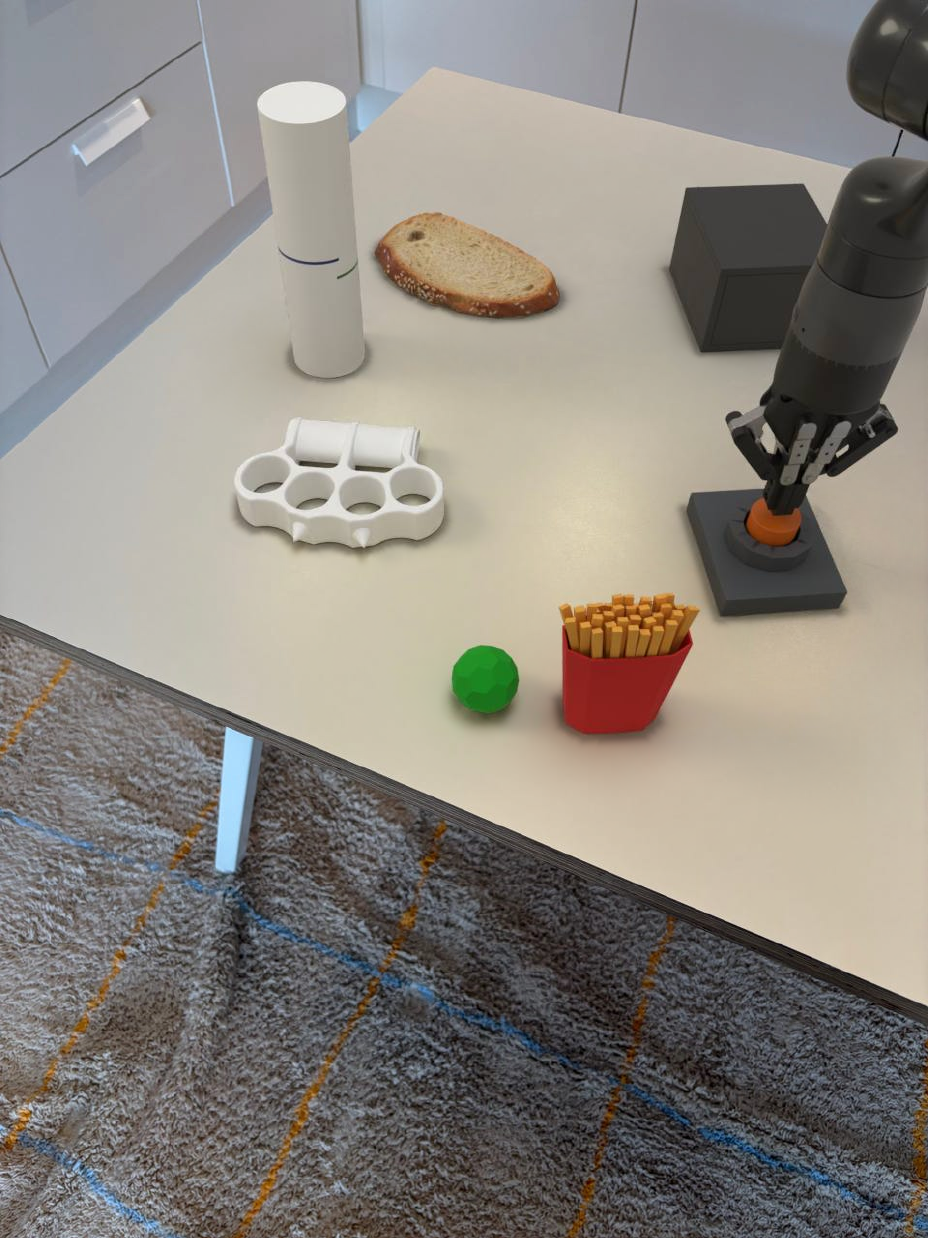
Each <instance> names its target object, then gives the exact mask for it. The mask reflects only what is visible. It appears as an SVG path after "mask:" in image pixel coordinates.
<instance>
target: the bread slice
mask: <svg viewBox="0 0 928 1238" xmlns="http://www.w3.org/2000/svg"><path fill="white" fill-rule="evenodd" d="M374 255H375V258H376V259H377V260H378V261H379V264H380V267H381V269H382V271H383V272H384V274H385V275H386V276H387V277H388V278H389V279H390V281H392V282H393V283H394V284H395V285H396V286H398V287H399V288H402V289H404V290H406V291H407V292H408V294H411V295H413V296H416V297H417V298H418V299H421V300H423V301H425V302H428V303H429V304H431V305H437V306H444V307H446V308H447V307H448V308H449V309H452V310H454V311H456V312H457V313H462V314H467V315H472V316H482V317H489V318H501V319H502V318H503V319H504V318H516V317H527V316H531V315H535V314H539V313H542V312H545V311H547V310H549V309H550V308H552V307H554V306H557V303H558V302H559V301H560V297H561V296H560V295H561V293H560V290H559V288H558V285H557V283H556V278H555V276H554V274H553V272H552V271H551V269H550V268H549V267H547V266H546V265H545V264H543V263H542V262H541V261H539V260H537V259H536V257H533V255H531V254H529V253H525V252H524V250H523V249H520V248H519V247H517V246H515V245H513V244H511V243H510V242H508V241H506V240H504V239H502V238H501V237H499V236H497V235H496V236H495V235H494V234H493V233H489V232H487V231H486V230H483V229H480V228H478V227H477V226H474V225H472V224H470V223H466V222H464V221H461V220H459V219H456V217H454V216H451V215H447V214H442V212H440V211H436V212H433V213H432V212H423V213H421V214H417V215H413V216H411V217H409V218H407V219H405V220H402V221H401V222H399V223H397V224H395V225H394V226H393V227H391V229H390V230H389V231H387V232H386V234H385V235H384V236H383V237H382V238H381V239H380V240H379V242H378V244H377V246H376V248H375V251H374Z"/></svg>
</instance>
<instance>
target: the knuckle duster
mask: <svg viewBox="0 0 928 1238" xmlns="http://www.w3.org/2000/svg"><path fill="white" fill-rule="evenodd" d="M420 438H421V429H420V428H417V426H412V425H409V426H408V427H405V426H404V427H403V426H391V425H379V424H367V423H361V422H360V421H352V422H343V421H332V420H331V421H330V420H319V419H307V418H304V417H299V416H297V417H295V418H294V417H293V418H291V420H290V421H289V423H288V426H287V429H286V434H285V440H284V443H283V444H282V445H281V446H280V447H278V448H276V449H275V450H273V451H267V452H262V453H258V454H255V455H253V456H250V457H249V458H247V459H245V461H243V462H242V463H241V464H240V466H238V468H237V470H236V471H235V474H234V477H233V487H234V492H235V495H236V499H237V504H238V508H239V512H240V514H241V516H242V517H243V519H244V520H245V521H246V522H247V523H248V524H250V525H252V526H253V527H255V528H256V527H272V528H276V529H279V530H282V531H284V532H285V533H287V534H289V535H290V536H291V538H292V543H295V542H298V541H301V542H304V543H307V544H310V545H317V544H322V543H337V544H342V545H345V546H348V547H349V548H352V549H355V548H362V549H366V547H371V546H372V547H373V546H376V545H377V544H379V543H381V542H384V541H386V540H391V539H397V538H398V539H401V538H403V539H411V540H414V541H419V540H423V539H425V538H427V537H429V536H431V535H433V534H434V533H435V532H436V531H437V530H438V529H439V528H440V526H441V525H442V523H443V520H444V517H445V488H444V487H445V486H444V483H443V480H442V479H441V477H440V475H438V473H437V472H436V471H434V469H432V468H430V467H428V466H426V465H424V464H420V463H418V456H419V449H420V448H419V447H420ZM301 462H311V463H312V462H313V463H323V464H324V463H325V464H337V465H336V466H334V467H317V466H307V465H306V466H305V465H304V466H303V465H300V463H301ZM357 466H361V467H376V468H385V469H387V468H388V469H390V470H389V471H387V472H377V471H364V470H356V468H357ZM271 483H272V484H273V483H280V484H281V485H280V486H279V487H278V488H276V489H273V490H271V491H267V492H255V491H256V490H257V489H259V488H260V487H262V486H264V485H267V484H271ZM407 495H419V496H424V497H425V498H427V499H429V501H428V502H425V503H423V504H419V505H409V504H404V503H402V502H400V501H398V499H400V498H401V497H404V496H407ZM314 499H322V500H326V501H325V503H324V504H322V505H321V506H319V507H316V508H313V509H299V508H297V507H299V506H300V505H301V504H302V503H304V502H306V501H308V500H314ZM362 503H371V504H374V505H376V506H378V507H380V508H379V509H378V510H377V511H374V512H372V513H367V514H357V513H353V512H350V511H348V510H347V509H349V508H350V507H352V506H353V505H357V504H362Z"/></svg>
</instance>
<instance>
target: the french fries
mask: <svg viewBox="0 0 928 1238" xmlns="http://www.w3.org/2000/svg"><path fill="white" fill-rule="evenodd" d="M558 610H559V613H560V617H561V620H562V622H563V625H561V651H562V652H561V657H562V658H561V660H562V661H561V663H562V665H561V667H562V668H561V669H562V670H561V671H562V675H561V676H562V682H561V683H562V684H561V685H562V691H561V692H562V707H563V712H564V718H565V724H566V725H567V726H569V727H571V728H573V729H575V730H577V731H578V732H580V733H582V734H584V735H586V734H587V735H589V734H590V735H591V734H592V735H593V734H595V735H601V734H616V733H617V734H619V733H632V732H633V733H634V732H642V731H643V730H644V729H646V728H647V727H648V726H649V725H650V724H651V723H652V722H653V721H654V720H656V718H657V716H658V714H659V712H660V711H661V708H662V706H663V705H664V703H665V700H666V699H667V697H668V694H669V693H670V690H671V688H672V687H673V685H674V683H675V682H676V679H677V677H678V675H679V673H680V671H681V669H682V667H683V665H684V663H685V661H686V660H687V657H688V655H689V653H690V651H691V650H692V648H693V646H694V642H693V638H692V634H691V630H690V629H691V627H692V625H693V623H694V622H695V620H696V619H697V616H698V614H699V612H700V610H701V609H700V608H699V607H698V606H697V605H686V606H685V605H684V604H683V603H682V604H675V593H673V592H664V593H660V594H654V595H653V598H652V597H651V596H642V595H641V596H640V598H639V602H635V595H634V594H622V593H618V594H613V595H611V602H603V601H601V602H596V603H586V607H585V606H584V605H583V604H581V605H578V606H575V607H573V610H572V607H571V605H570V604H569V602H565V603H564V604H562V605H560V606H558Z"/></svg>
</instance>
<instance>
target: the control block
mask: <svg viewBox="0 0 928 1238" xmlns="http://www.w3.org/2000/svg"><path fill="white" fill-rule="evenodd" d="M763 490H764V488H750V489H734V490H733V489H731V490H716V491H715V490H714V491H698V492H691V493H690V496H689V500H688V502H687V506H686V513H687V517H688V520H689V522H690V526H691V529H692V533H693V535H694V538H695V541H696V544H697V547H698V551H699V553H700V556H701V560H702V563H703V566H704V569H705V572H706V575H707V578H708V581H709V585H710V587H711V590H712V594H713V598H714V600H715V603H716V605H717V610H718V613H719V616H720V617H732V616H733V617H734V616H748V615H765V614H775V613H776V614H777V613H792V612H807V611H822V610H837V609H840V607H841V605H842V604H843V602H844V600H845V598H846V596H847V594H848V590H847V586H846V585H845V583H844V580H843V578H842V575H841V573H840V571H839V569H838V566H837V563H836V561H835V560H834V557H833V555H832V553H831V550H830V548H829V545H828V543H827V541H826V538H825V535H824V534H823V531H822V528H821V527H820V523H819V522H818V520H817V518H816V515H815V513H814V510H813V508H812V506H811V503H810V500H809V498H808V496H807V495H806V496H805V498H804V500H803V503H802V504H801V505H800V506H799V508H798V510H799V512H800V514H801V523H800V526H799V528H798V530H797V533H796V535H795V537H794V539H793V540H792V541H791V542H790V543H788V544H786V545H784V546H769V545H766V544H763V543H760V542H758V541H756V540H755V539H754V538H753V537H752V536H751V535H750V534H749V532H748V529H747V520H748V517H749V515H750V512H751V509H752V506H753V505H754V503H755V502H756V501H758V500H760V499H762V498H763Z"/></svg>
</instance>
